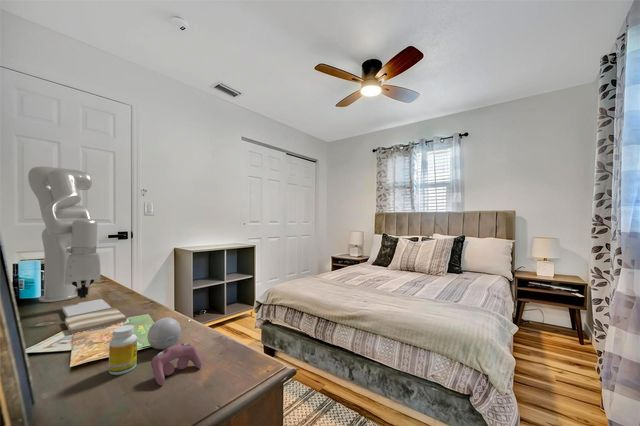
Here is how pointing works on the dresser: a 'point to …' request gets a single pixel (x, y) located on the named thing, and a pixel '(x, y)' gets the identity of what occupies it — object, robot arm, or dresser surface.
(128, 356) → the supplement bottle
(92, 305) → the grey plank
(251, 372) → the dresser surface
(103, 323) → the birch board
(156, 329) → the bath bomb
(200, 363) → the video game controller
